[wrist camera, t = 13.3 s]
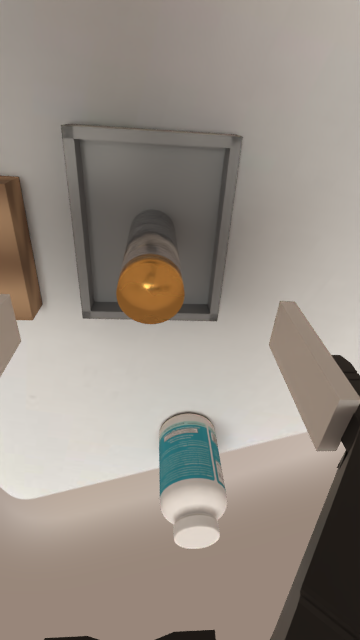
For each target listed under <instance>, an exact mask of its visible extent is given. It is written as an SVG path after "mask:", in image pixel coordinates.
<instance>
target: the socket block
mask: <svg viewBox="0 0 360 640" xmlns="http://www.w3.org/2000/svg"><path fill="white" fill-rule="evenodd" d="M0 294H10V298H11V302H12V306H13V310H14V314H15V318H16V320H33V319H34V317H35V316H36V314H37V312H38V311H39V309H40V307H41V306H42V300H41V295H40V290H39V284H38V279H37V273H36V268H35V262H34V257H33V252H32V246H31V241H30V235H29V230H28V225H27V219H26V214H25V208H24V203H23V198H22V192H21V187H20V181H19V177H11V176H0Z"/></svg>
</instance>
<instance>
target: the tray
mask: <svg viewBox="0 0 360 640" xmlns="http://www.w3.org/2000/svg"><path fill="white" fill-rule="evenodd" d="M61 130H62V139H63V147H64V156H65V165H66V174H67V183H68V192H69V200H70V209H71V218H72V227H73V236H74V244H75V253H76V262H77V271H78V280H79V288H80V297H81V306H82V315H83V318H87V319H131V318H130V317H128V316H127V315H126V314H125V313H124V312H123V311H122V310H121V308H120V306H119V304H118V301H117V297H116V290H117V285H118V280H119V276H120V271H121V267H122V262H123V258H124V253H125V249H126V244H127V240H128V236H129V231H130V227H131V223H132V221H133V219H134V218H135V217H136V216H137V215H138V214H139V213H141V212H143V211H145V210H152V209H153V210H159V211H161V212H163V213H165V214H166V215H167V216H169V218H170V219H171V220H172V222H173V224H174V227H175V234H176V240H177V247H178V253H179V260H180V266H181V273H182V279H183V286H184V292H185V296H184V302H183V305H182V307H181V308H180V310H179V311H178V313H177V314H176V315H175V316H173V317H172V318H171V319H169V320H185V321H217V318H218V311H219V304H220V297H221V290H222V282H223V275H224V268H225V261H226V253H227V246H228V239H229V232H230V225H231V217H232V210H233V203H234V196H235V188H236V181H237V174H238V167H239V160H240V152H241V145H242V138H243V137H242V136H239V135H234V134H218V133H203V132H187V131H171V130H156V129H140V128H124V127H109V126H93V125H78V124H65V125H61Z"/></svg>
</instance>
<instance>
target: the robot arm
mask: <svg viewBox="0 0 360 640" xmlns="http://www.w3.org/2000/svg"><path fill="white" fill-rule="evenodd" d="M20 342H21V338H20V334H19V330H18V326H17V322H16V318H15V314H14V310H13V306H12V302H11V298H10V294H0V377H1V375H2V373H3V372H4V370H5V368H6V366H7V365H8V363H9V361H10V359H11V358H12V356H13V354H14V353H15V351H16V349H17V347H18V346H19V344H20ZM269 346H270V349H271V351H272V353H273V355H274V358H275V360H276V362H277V364H278V366H279V369H280V371H281V373H282V375H283V378H284V380H285V382H286V384H287V386H288V389H289V391H290V393H291V395H292V397H293V400H294V402H295V404H296V406H297V409H298V411H299V413H300V415H301V417H302V420H303V422H304V424H305V426H306V429H307V431H308V433H309V435H310V437H311V439H312V442H313V444H314V446H315V448H316V451H336V450H337V448H338V446H339V444H340V442H341V441H342V443H343V445H344V447H345V448H346V451H345V453H344V455H343V457H342V459H341V461H340V463H339V464H338V467H337V468H338V470H337V473H336V475H335V478H334V481H333V483H332V485H331V488H330V491H329V493H328V496H327V498H326V501H325V503H324V506H323V508H322V511H321V513H320V516H319V519H318V521H317V524H316V526H315V529H314V531H313V534H312V536H311V539H310V541H309V544H308V546H307V549H306V552H305V554H304V557H303V559H302V562H301V564H300V567H299V569H298V572H297V575H296V577H295V579H294V582H293V584H292V587H291V590H290V592H289V595H288V597H287V600H286V602H285V605H284V607H283V610H282V613H281V615H280V618H279V620H278V622H277V625H276V628H275V630H274V632H273V634H272V637H271V639H270V640H360V375H359V374H357V371H356V370H355V368H354V367H353V366H352V364H351V363H350V362H349V361H347V360H346V359H345V358H343V357H342V356H341V355H331V354H330V353H329V351H328V350H327V348H326V347H325V345H324V344H323V342H322V341H321V339H320V338H319V337H318V335H317V334H316V332H315V331H314V329H313V328H312V326H311V325H310V323H309V322H308V320H307V319H306V317H305V316H304V314H303V313H302V311H301V310H300V309H299V307H298V306H297V304H296V303H295V302H289V301H280V303H279V307H278V311H277V315H276V319H275V323H274V327H273V331H272V335H271V339H270V342H269ZM44 640H98V639H95V638H92V637H88V636H82V637H81V636H80V637H60V638H45V639H44ZM156 640H216V639H215V630H205V631H204V630H203V631H183V632H173V633H171V634H168V635H165V636H163V637H161V638H158V639H156Z"/></svg>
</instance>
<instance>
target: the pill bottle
mask: <svg viewBox="0 0 360 640" xmlns="http://www.w3.org/2000/svg"><path fill="white" fill-rule="evenodd" d="M159 461H160V508H161V512H162V514H163V516H164V517H165V518H166V519H167V520H168V521H169V522H170V523H172V524H174V527H173V531H174V541H175V543H176V544H177V545H179V546H181V547H183V548H188V549H198V548H204V547H207V546H210V545H212V544H213V543H215V542H216V541H217V540H218V539H219V536H220V534H219V526H218V521H217V520H218V519H219V518H220V517H221V516H222V515H223V513H224V512H225V509H226V506H227V496H226V491H225V485H224V479H223V474H222V469H221V463H220V457H219V451H218V446H217V440H216V435H215V430H214V427H213V425H212V423H211V422H210V421H209V420H208V419H206V418H205V417H203V416H200V415H197V414H181V415H177V416H174V417H172V418H170V419H169V420H167V421H166V422H165V423H164V424H163V426H162V427H161V430H160V434H159Z"/></svg>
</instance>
